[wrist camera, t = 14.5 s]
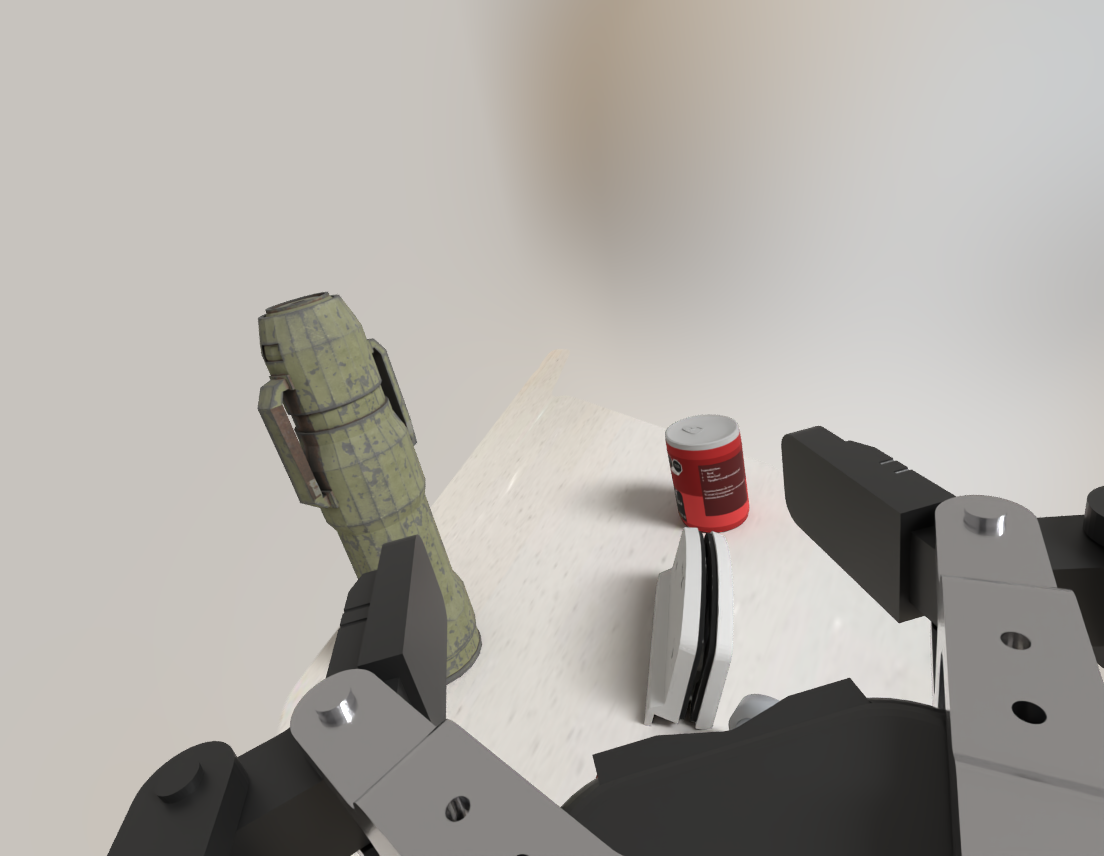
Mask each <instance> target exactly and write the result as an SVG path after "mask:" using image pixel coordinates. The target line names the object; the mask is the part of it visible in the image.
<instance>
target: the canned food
mask: <svg viewBox="0 0 1104 856" xmlns="http://www.w3.org/2000/svg"><path fill="white" fill-rule="evenodd" d="M665 440H666V446H667V452H668V458H669V463H670V468H671V474H672V479H673V484H674V490H675V495H676V501H677V506H678V511H679V515H680V517H681V519H682V520H683V522H684V523H685V524H686V525H687V526H688V527H690V528H698V531H701V532H709V533H711V531H714V532H724V531H728V530H731V529H734V528H736V527H738V526H739V525H741V524H742V523H743V522H744V521H745V520H746V518H747V516H748V512H749V500H748V492H747V483H746V475H745V467H744V459H743V451H742V442H741V436H740V430H739V426H738V423H737V422H736V421H735V420H733V419H732V418H729V417H726V416H720V415H698V416H692V417H688V418H685V419H682V420H680V421H677V422H675V423H673V424H672V425H671V426H669V427H668V428H667V430H666V432H665Z"/></svg>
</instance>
